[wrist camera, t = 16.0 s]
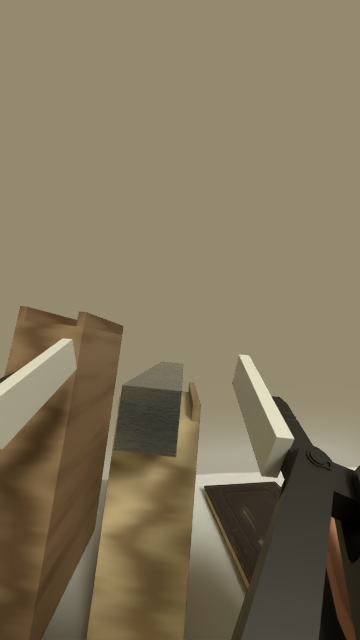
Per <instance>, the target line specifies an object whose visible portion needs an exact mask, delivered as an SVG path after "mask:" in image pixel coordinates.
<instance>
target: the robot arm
mask: <svg viewBox="0 0 360 640" xmlns="http://www.w3.org/2000/svg"><path fill="white" fill-rule="evenodd" d="M76 369H77V366H76V359H75V353H74V346H73V340H72V339H64V338H63V339H61V340H60V341H58V342H57V343H56V344H54V345H53V346H51V347H50V348H49V349H47V350H46V351H45V352H43V353H42V354H40V355H39V356H38V357H36V358H35V359H33V360H32V361H31V362H29V363H28V364H27V365H25V366H24V367H22V368H21V369H20V370H18V371H17V372H13V373H11V374H9V375H7V376H4V377H3V378H1V379H0V449H3V448H4V447H5V446H6V445H7V444H8V443H9V442H10V441H11V440H12V438H13V437H14V436H15V435H16V434H17V433H18V432H19V431H20V430H21V429H22V428H23V427H24V425H25V424H26V423H27V422H28V421H29V420H30V419H31V418H32V417H33V416H34V415H35V414H36V412H37V411H38V410H39V409H40V408H41V407H42V406H43V405H44V404H45V403H46V402H47V401H48V399H49V398H50V397H51V396H52V395H53V394H54V393H55V392H56V391H57V390H58V389H59V388H60V386H61V385H62V384H63V383H64V382H65V381H66V380H67V379H68V378H69V377H70V376H71V375H72V373H73V372H74V371H75V370H76ZM232 384H233V387H234V390H235V393H236V396H237V399H238V403H239V406H240V409H241V412H242V415H243V418H244V422H245V425H246V428H247V431H248V434H249V438H250V441H251V444H252V447H253V451H254V453H255V457H256V460H257V463H258V466H259V469H260V473H261V476H265V477H275V478H277V477H278V475H279V473H280V470H281V472H282V474H283V477H284V479H285V480H284V482H283V484H282V486H281V488H280V491H279V493H280V494H279V497H278V500H277V503H276V506H275V509H274V512H273V515H272V518H271V521H270V524H269V527H268V530H267V533H266V536H265V539H264V542H263V545H262V548H261V551H260V554H259V557H258V560H257V563H256V566H255V569H254V572H253V575H252V578H251V581H250V584H249V587H248V590H247V593H246V596H245V599H244V602H243V606H242V609H241V612H240V615H239V618H238V621H237V624H236V627H235V630H234V633H233V636H232V639H231V640H319V631H320V621H321V611H322V601H323V591H324V581H325V571H326V561H327V551H328V541H329V531H330V521H331V517H333V518H334V520H335V525H336V531H337V536H338V542H339V547H340V553H341V559H342V564H343V570H344V575H345V581H346V586H347V592H348V597H349V603H350V609H351V614H352V620H353V625H354V631H355V636H356V640H360V466H359V467H358V468H357V469H356V470H355V471H354V470H351V469H348V468H346V467H343V466H341V465H338V464H336V463H334V462H332V460H331V459H330V458H329V457H328V456H327V455H326V454H325V453H324V452H323V451H322V450H320V449H319V448H317V447H315V446H313V445H312V443H311V442H310V440H309V438H308V437H307V435H306V434H305V432H304V430H303V429H302V427H301V426H300V424H299V422H298V421H297V420H296V417H295V416H294V414H293V413H292V411H291V409H290V408H289V406H288V405H287V403H286V402H284V401H283V400H282V399H281V398H280V397H273V396H271V395H270V393H269V391H268V390H267V388H266V386H265V384H264V382H263V380H262V379H261V377H260V375H259V373H258V371H257V370H256V368H255V366H254V364H253V362H252V360H251V358H250V357H249V356H248V355H239V357H238V361H237V366H236V370H235V374H234V379H233V383H232Z"/></svg>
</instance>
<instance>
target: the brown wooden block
mask: <svg viewBox="0 0 360 640" xmlns="http://www.w3.org/2000/svg"><path fill="white" fill-rule="evenodd" d="M122 333H123V326H122V325H119V324H116V323H114V322H111V321H108V320H106V319H103V318H100V317H97V316H95V315H92V314H89V313H86V312H79V315H78V320H75V319H71V318H67V317H63V316H59V315H56V314H52V313H48V312H45V311H40V310H37V309H33V308H30V307H23V306H20V310H19V314H18V319H17V324H16V328H15V332H14V336H13V341H12V345H11V349H10V354H9V358H8V362H7V367H6V371H5V375H4V376H7V375H9V374H11V373H13V372H17V371H18V370H20V369H21V368H22V367H24V366H25V365H27V364H28V363H29V362H31V361H32V360H33V359H35V358H36V357H38V356H39V355H40V354H42V353H43V352H45V351H46V350H47V349H49V348H50V347H51V346H53V345H54V344H56V343H57V342H58V341H60V340H61V339H63V338H64V339H72V340H73V346H74V353H75V359H76V366H77V369H76V370H75V371H74V372H73V373H72V375H71V376H70V377H69V378H68V379H67V380H66V381H65V382H64V383H63V384H62V385H61V386H60V388H59V389H58V390H57V391H56V392H55V393H54V394H53V395H52V396H51V397H50V398H49V399H48V401H47V402H46V403H45V404H44V405H43V406H42V407H41V408H40V409H39V410H38V411H37V412H36V414H35V415H34V416H33V417H32V418H31V419H30V420H29V421H28V422H27V423H26V424H25V425H24V427H23V428H22V429H21V430H20V431H19V432H18V433H17V434H16V435H15V436H14V437H13V438H12V440H11V441H10V442H9V443H8V444H7V445H6V446H5V447H4V448H3V449H0V640H41V638H42V636H43V634H44V632H45V630H46V628H47V626H48V624H49V622H50V620H51V618H52V616H53V614H54V612H55V610H56V607H57V605H58V603H59V601H60V599H61V597H62V595H63V593H64V591H65V589H66V587H67V585H68V583H69V581H70V579H71V577H72V575H73V573H74V571H75V569H76V567H77V565H78V563H79V561H80V558H81V556H82V554H83V552H84V550H85V548H86V546H87V544H88V542H89V540H90V538H91V536H92V534H93V532H94V530H95V523H96V516H97V509H98V502H99V495H100V488H101V480H102V473H103V466H104V459H105V452H106V445H107V438H108V431H109V424H110V418H111V410H112V403H113V396H114V389H115V382H116V374H117V368H118V361H119V354H120V346H121V340H122Z"/></svg>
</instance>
